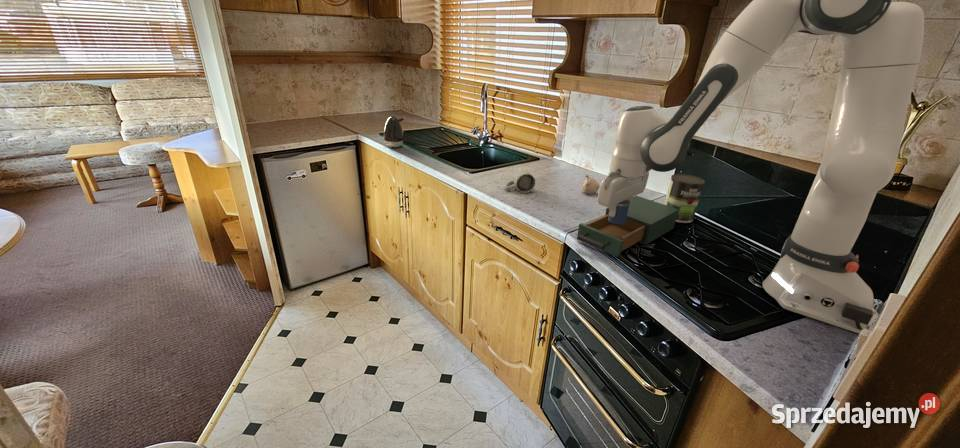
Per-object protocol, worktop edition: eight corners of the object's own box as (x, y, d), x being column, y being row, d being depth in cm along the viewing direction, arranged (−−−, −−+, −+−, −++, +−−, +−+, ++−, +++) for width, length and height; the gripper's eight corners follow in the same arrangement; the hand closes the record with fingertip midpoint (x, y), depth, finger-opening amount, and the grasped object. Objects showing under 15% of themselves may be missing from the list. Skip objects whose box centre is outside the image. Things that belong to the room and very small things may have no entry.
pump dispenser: (405, 148, 204) (404, 118, 198) (384, 149, 202) (382, 118, 196) (404, 143, 213) (402, 114, 207) (383, 143, 211) (382, 114, 205)
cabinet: (645, 245, 120) (650, 224, 117) (602, 227, 130) (606, 208, 127) (673, 228, 132) (678, 209, 129) (631, 213, 142) (636, 195, 139)
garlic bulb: (579, 190, 161) (582, 170, 157) (595, 190, 161) (599, 171, 158) (583, 196, 155) (586, 176, 151) (599, 196, 155) (603, 177, 152)
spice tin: (629, 221, 117) (633, 201, 114) (620, 226, 114) (624, 205, 111) (613, 216, 121) (617, 196, 118) (603, 220, 117) (607, 200, 115)
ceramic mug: (528, 185, 163) (530, 167, 159) (534, 192, 155) (536, 173, 152) (503, 186, 161) (504, 168, 158) (508, 193, 154) (509, 174, 150)
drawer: (608, 262, 108) (612, 246, 106) (567, 243, 117) (569, 228, 115) (648, 239, 122) (652, 224, 120) (608, 223, 131) (611, 209, 128)
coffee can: (699, 223, 136) (711, 184, 130) (669, 222, 136) (680, 183, 130) (684, 211, 146) (695, 174, 139) (656, 210, 145) (666, 173, 139)
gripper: (617, 176, 102) (608, 226, 108) (655, 163, 115) (645, 208, 120) (596, 170, 106) (588, 218, 112) (635, 158, 119) (626, 201, 125)
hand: (618, 213), depth 116 cm, fingers closed on spice tin, 5 cm apart
